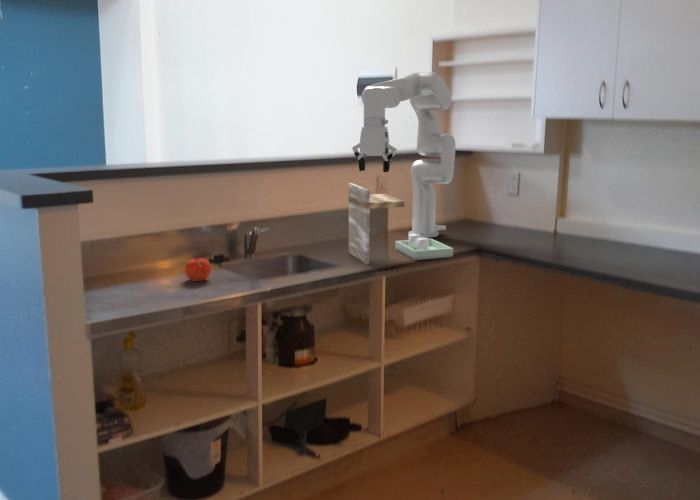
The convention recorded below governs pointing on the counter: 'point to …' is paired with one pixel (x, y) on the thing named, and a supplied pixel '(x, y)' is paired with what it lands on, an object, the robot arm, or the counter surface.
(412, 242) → the grey rounded piece
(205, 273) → the apple
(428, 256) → the tray
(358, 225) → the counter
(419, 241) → the white egg
